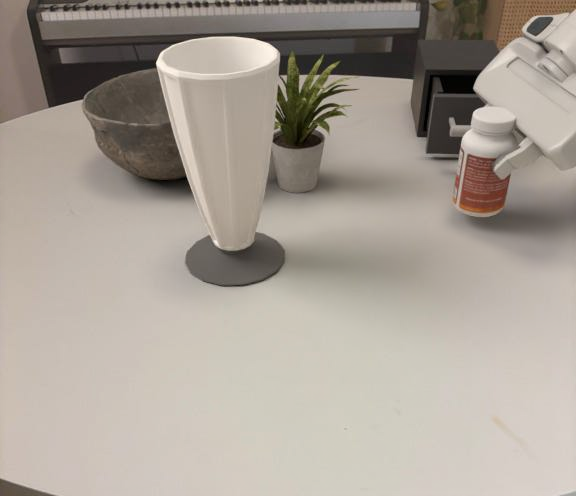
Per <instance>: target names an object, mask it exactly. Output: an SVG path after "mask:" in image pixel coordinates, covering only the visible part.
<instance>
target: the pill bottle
mask: <svg viewBox="0 0 576 496" xmlns="http://www.w3.org/2000/svg"><path fill="white" fill-rule="evenodd" d="M515 120H516V116H514V115H513V114H512V113H511V112H509V111H508V110H507V109H506V108H502V107H483V108H479V109H477V110H475V111H474V112H473V116H472V121H471V128H472V129H470V130H469V131H467V132H466V133H465V134H464V136H463V138H462V141H461V147H460V154H458V160H457V168H456V174H455V180H454V187H453V192H452V199H451V201H452V206H453V207H454V209H455V210H457V211H458V212H460V213H461V214H463V215H466V216H470V217H475V218H487V217H488V218H489V217H492V216H495V215H498V214H499V213H501V212H502V210H503V209H504V207H505V204H506V200H507V196H508V191H509V185H510V182H511V181H510V180H511V176H512V172H511V173H510V174H509V175H508V176H507V177H506V178H505V179H500V178H499V177H498V176H497V175H496V174H495V173H494V172H493V170H492V169H491V168H490V165H491V163H492V162H493V161H495V160H496V158H497V157H498V156H499V155H500V154H502V155H503V156H504V157H505V156H506V155H508V154H510V153H512V152H514V151H515V150H517V149H518V139H517V137H516V135H515V134H514V133H513V131H514V127H515V125H514V123H515Z"/></svg>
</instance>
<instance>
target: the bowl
mask: <svg viewBox="0 0 576 496" xmlns="http://www.w3.org/2000/svg"><path fill="white" fill-rule="evenodd" d="M81 110H82V112H83V114H84V116H85V117H86V119H87V121H88V122H89V124H90V126H91V128H92V130H93V134H94V140H95V142H96V143H95V144H96V145H97V147H98V149H99V150H100V151H101V152H102V154H104V155H105V157H106V158H107V159H109V160H110V162H112V163H114V164H115V165H116V166H118V167H120V168H121V169H123V170H124V171H126V172H129V173H130V174H132V175H134V176H135V175H136V176H138V177H141V178H145V179H149V180H154V181H164V180H165V181H169V180H177V179H178V180H179V179H182V178H183V179H184V178H187V175H186V172H185V169H184V165H183V162H182V159H181V156H180V152H179V149H178V146H177V143H176V140H175V136H174V133H173V129H172V125H171V122H170V118H169V114H168V110H167V106H166V102H165V98H164V95H163V90H162V86H161V82H160V78H159V74H158V69H157V67H154V68H148V69H142V70H137V71H134V72H129V73H126V74H121V75H118V76H117V77H113V78H111V79H108V80H106V81H104V82H102V83H101V84H99V85H97V86H96V87H94V88H92V89H91V90H89V91H88V92H87V93H85V95H84V96H83V100H82V102H81Z"/></svg>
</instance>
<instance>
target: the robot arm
mask: <svg viewBox="0 0 576 496" xmlns="http://www.w3.org/2000/svg"><path fill="white" fill-rule="evenodd" d="M521 32H522V34H523V36H519V37H517V38H515V39H513V40H512V41H510V42H508V44H507V45H505V47H503V48H502V50H501V51H499V52H500V53H499V54H498V55H497V56H496V57H495V58H494V59H493V60H492V61H491V62H490V63H489V64H488V65H487V67H486V68H485V69H484V70H483V71H482V72H481V73H480V75H479V76H478V77H477V79H476V82H475V84H474V87H473V90H474V91H475V93H476V94H477V95H478V96H479V98H480V99H481V100H482V101H483V102H484V103H485V106H484V107H502V108H506V109H507V110H508V111H509V112H511V113H512V114H513V115H514V116H516V120H515V123H514V125H515V127H514V129H513V131H515V132H516V133H517V134H519V135H520V136H521V138H523V140H522V141H521V142H520V143H518V146H519V148H517V149H516V150H515V151H514V152H512V153H510V154H508V155H506V156H505V157H504V156H503V155H502V154H500V155H499V156H498V157H497V158H496V160H495V161H493V162H492V163H491V165H490V168H491V169H492V170H493V172H494V173H495V174H496V175H497V176H498V177H499V178H500V179H505V178H506V177H507V176H508V175H509V174H510V173H511V174H512V173H513V172H514V171H515V170H518V169H520V168H523V167H525V166H528V165H531V164H533V163H534V162H536V161H537V160H538V159H539V158H540V157H541V156H544V157H545V158H546V159H547V160H548V161H549V162H551V163H552V164H553V165H554V166H555V167H556V168H558V169H559V170H560V171H563V172H564V171H568V170H571V169H573V168H576V8H575V9H574V10H573V11H572V12H571V13H570V12H562V13H559V14H549V15H548V14H547V15H545V14H543V15H541V14H540V15H534V16H532V17H531V18H530V19H528V21H527V22H526V23H524V25H523V26H522V29H521ZM471 129H472V128H471Z"/></svg>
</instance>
